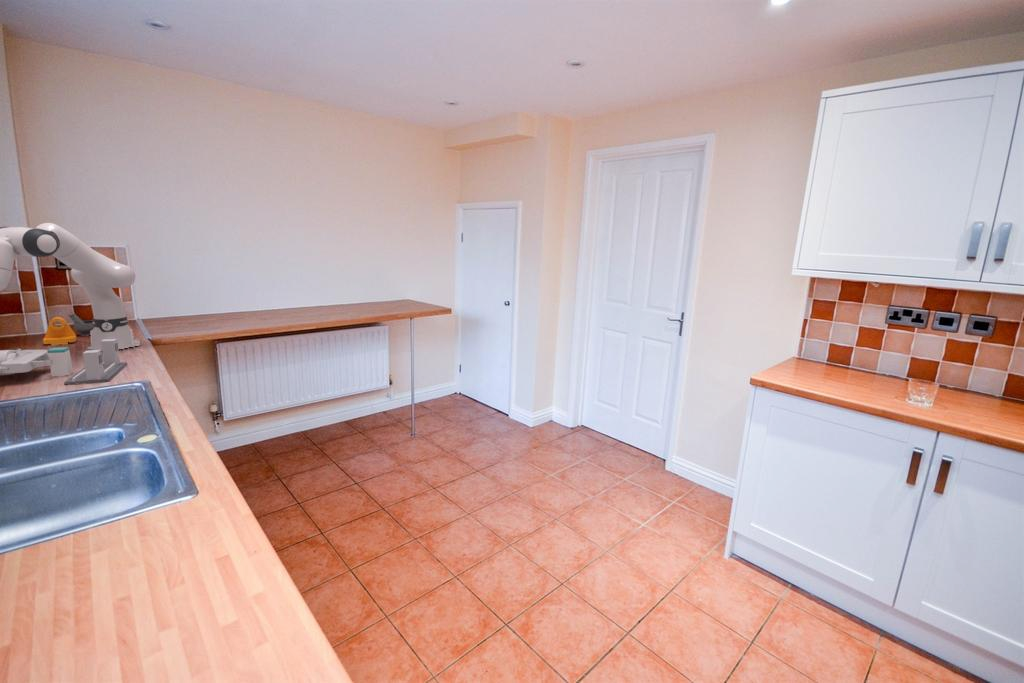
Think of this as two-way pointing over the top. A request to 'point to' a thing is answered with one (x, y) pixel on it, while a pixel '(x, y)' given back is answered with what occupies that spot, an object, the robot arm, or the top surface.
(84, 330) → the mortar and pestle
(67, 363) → the block
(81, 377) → the base plate with posts
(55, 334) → the bracket
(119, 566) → the top surface
